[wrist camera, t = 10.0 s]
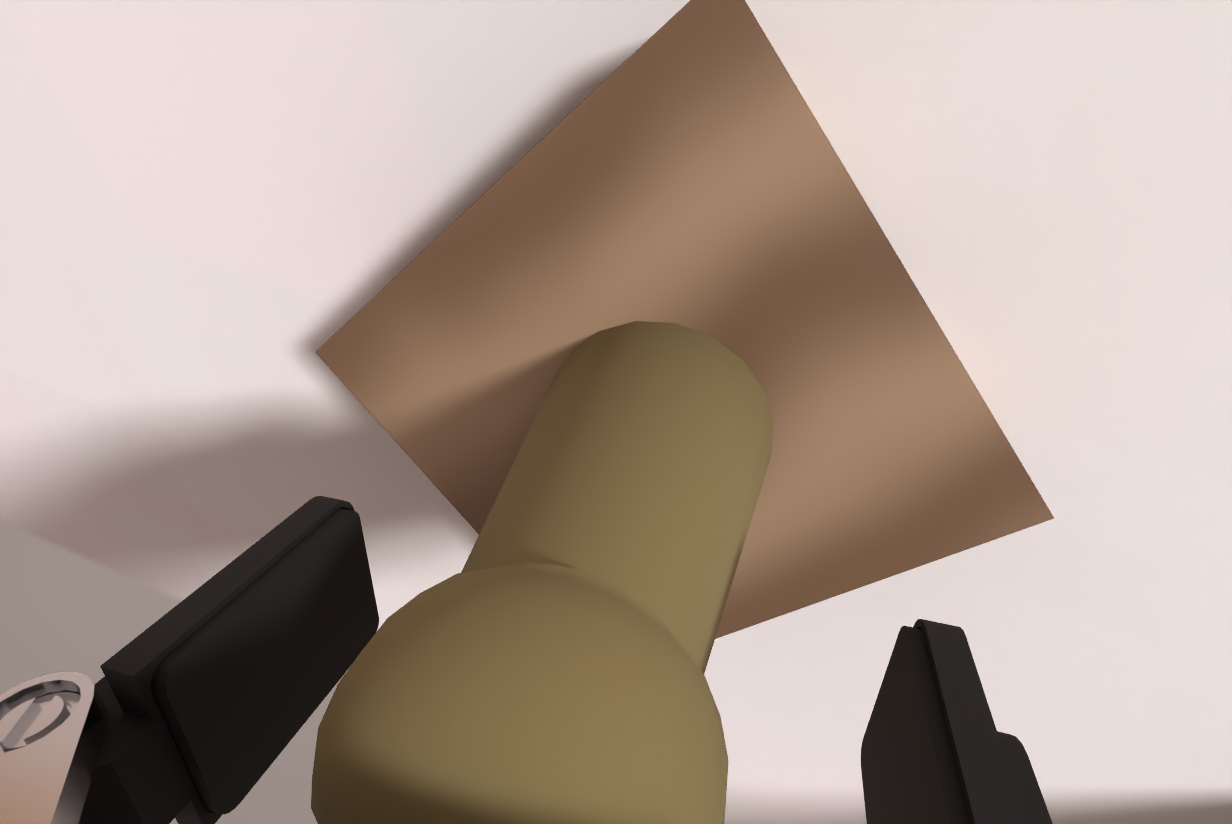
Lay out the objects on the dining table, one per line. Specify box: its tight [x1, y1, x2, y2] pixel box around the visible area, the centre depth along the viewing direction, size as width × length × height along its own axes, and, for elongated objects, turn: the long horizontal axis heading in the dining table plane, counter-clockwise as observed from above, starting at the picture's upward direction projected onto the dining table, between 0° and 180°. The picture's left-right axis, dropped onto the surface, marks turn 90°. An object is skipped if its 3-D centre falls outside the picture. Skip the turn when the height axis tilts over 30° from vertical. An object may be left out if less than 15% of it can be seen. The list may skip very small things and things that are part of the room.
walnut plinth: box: [316, 0, 1054, 639], centre depth 18 cm, size 14×14×4 cm
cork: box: [311, 321, 774, 824], centre depth 11 cm, size 6×6×11 cm
